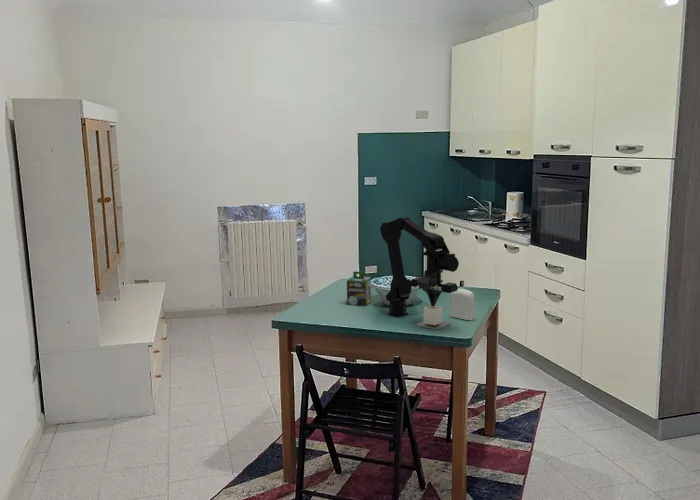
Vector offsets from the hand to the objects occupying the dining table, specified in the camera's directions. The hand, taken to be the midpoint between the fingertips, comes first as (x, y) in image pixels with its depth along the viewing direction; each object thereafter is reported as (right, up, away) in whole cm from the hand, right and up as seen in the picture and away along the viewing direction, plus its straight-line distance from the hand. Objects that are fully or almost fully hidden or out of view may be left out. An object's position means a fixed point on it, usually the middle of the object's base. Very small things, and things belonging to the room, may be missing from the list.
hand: (433, 306), depth 252 cm
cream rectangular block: (0, -7, +1) cm, 7 cm away
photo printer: (+13, -6, +11) cm, 18 cm away
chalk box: (-29, -2, +35) cm, 45 cm away
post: (0, -8, +1) cm, 8 cm away
